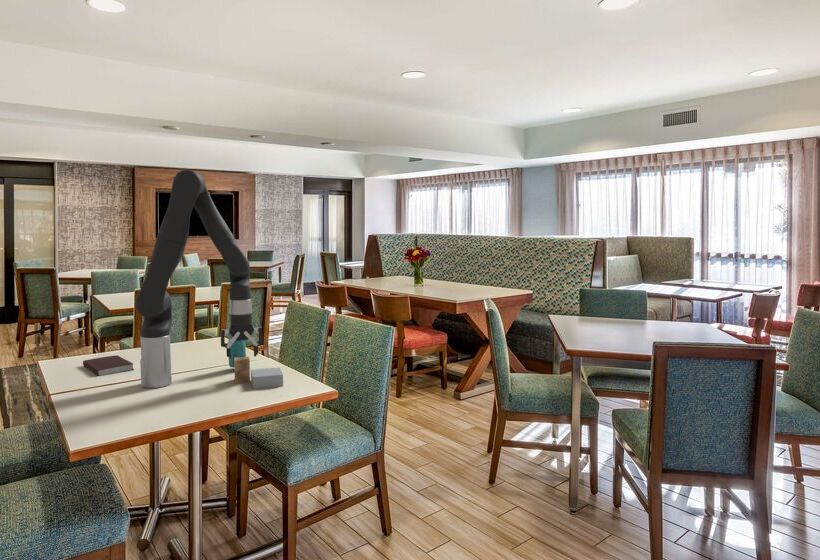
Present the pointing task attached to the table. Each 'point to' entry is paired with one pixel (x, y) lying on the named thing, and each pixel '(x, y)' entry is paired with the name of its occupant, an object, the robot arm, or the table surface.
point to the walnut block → (242, 369)
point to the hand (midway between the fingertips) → (242, 357)
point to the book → (108, 365)
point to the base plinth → (266, 377)
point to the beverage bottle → (236, 350)
